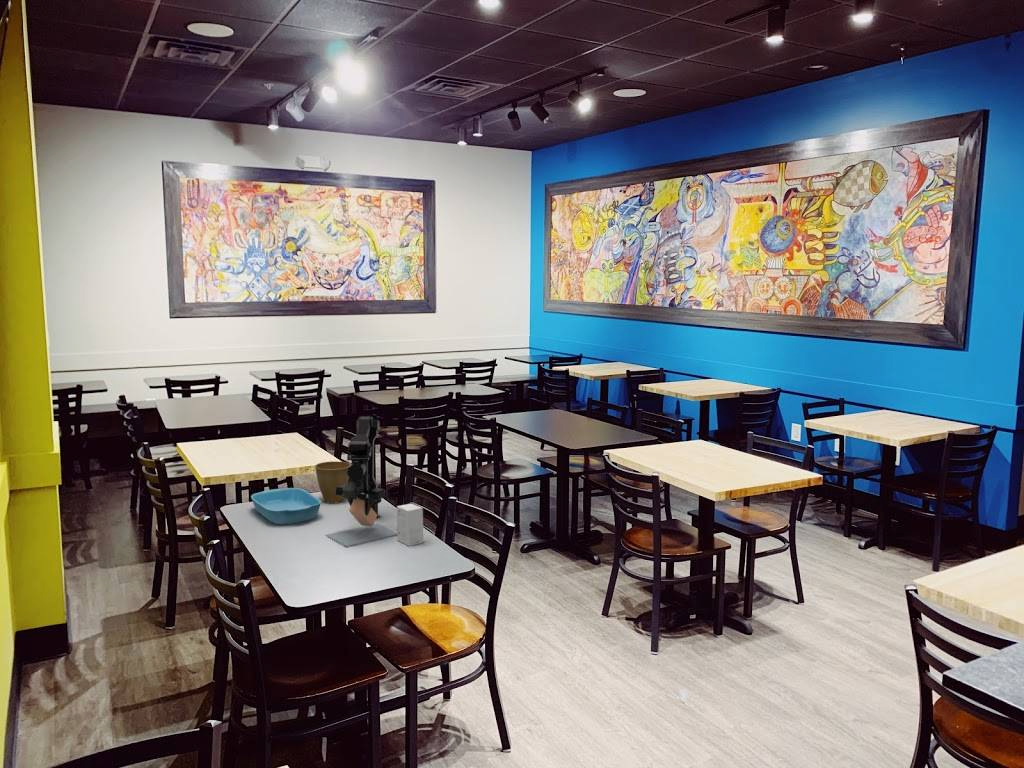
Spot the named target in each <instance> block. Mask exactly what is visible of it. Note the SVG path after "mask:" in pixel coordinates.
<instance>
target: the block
mask: <svg viewBox="0 0 1024 768" xmlns="http://www.w3.org/2000/svg"><path fill="white" fill-rule="evenodd" d="M348 512H349V513H350V514H351V515H352V516H353V517H354V518H355V520H356V521H357V522H358V523H359V525H360V526H371V527H373V524H375V522H376V519H377V518H376V517H377V514H376V513H375V511H374V510H373V509H372V508H371V509H370V511H369V514H368V515H367V516H366V514H365V501H364V500H359V499H354V500H353V502H352V505H351V506H350V508H349V509H348Z"/></svg>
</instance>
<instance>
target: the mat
mask: <svg viewBox="0 0 1024 768" xmlns="http://www.w3.org/2000/svg"><path fill="white" fill-rule="evenodd" d="M396 535H397V531H395V530H393V529H390V528H388V527H387V526H383V524H382V525H381V524H379V523H374V524H373V527H371V526H364V525H362V526H359V527H354V528H351V529H346V530H342V531H336V532H332V533H329V534H325V536H327V537H328V538H327V537H326V538H327V539H329V538H330V540H331V539H332V540H331V541H333V540H334V541H333V542H335V541H336V542H335V543H337V542H338V543H337V544H339V543H340V544H339V545H341V544H342V545H344V546H346V547H347V548H349V547H348V546H351V547H354V546H353V545H355V546H359V545H362V544H368V543H371V541H372V542H375V541H380V540H383V539H384V538H385V539H388V538H392V537H397V536H396ZM325 536H324V537H325ZM367 542H368V543H367ZM358 544H359V545H358ZM342 545H341V546H342ZM344 546H343V547H344ZM346 547H345V548H346Z"/></svg>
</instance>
